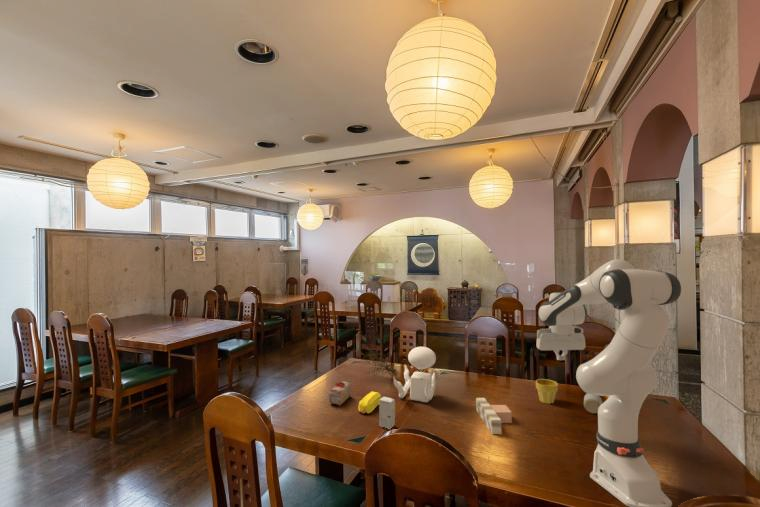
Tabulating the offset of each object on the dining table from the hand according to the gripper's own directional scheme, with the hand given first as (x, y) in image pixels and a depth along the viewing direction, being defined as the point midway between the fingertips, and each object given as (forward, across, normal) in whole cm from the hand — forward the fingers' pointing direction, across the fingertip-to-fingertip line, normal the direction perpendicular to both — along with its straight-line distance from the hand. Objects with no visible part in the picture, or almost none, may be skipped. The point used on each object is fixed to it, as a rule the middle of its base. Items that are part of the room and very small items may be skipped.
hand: (560, 359), depth 154 cm
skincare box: (+29, -77, +3) cm, 82 cm away
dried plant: (+30, -88, +66) cm, 114 cm away
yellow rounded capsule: (+30, -85, +23) cm, 93 cm away
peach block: (+29, -25, +8) cm, 39 cm away
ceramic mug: (+29, +24, +14) cm, 40 cm away
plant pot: (+29, +6, +27) cm, 40 cm away
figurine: (+30, -60, +34) cm, 75 cm away
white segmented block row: (+29, -31, +6) cm, 43 cm away
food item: (+30, -102, +32) cm, 110 cm away
